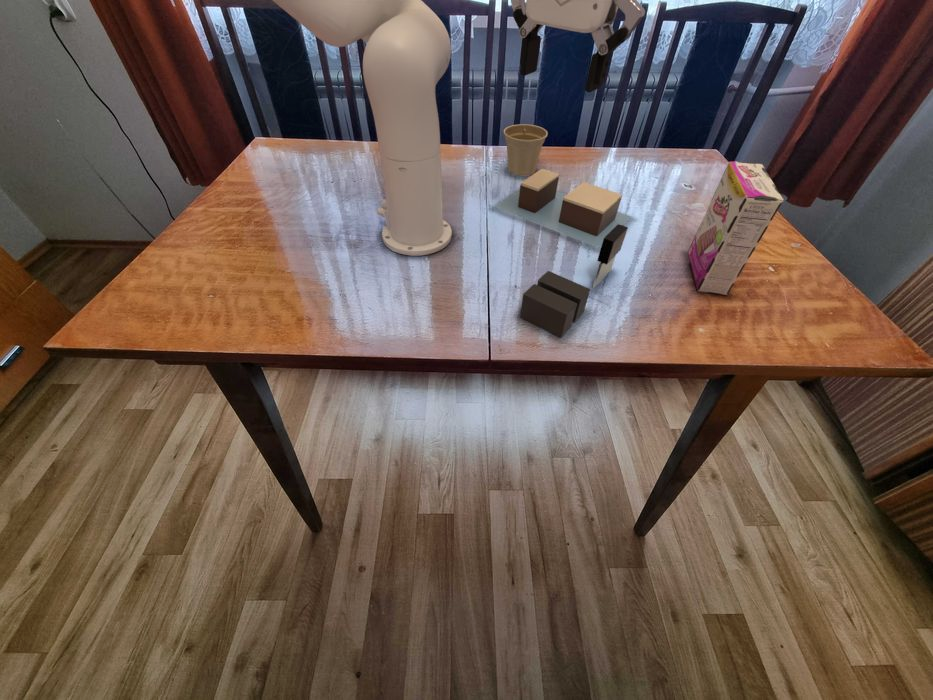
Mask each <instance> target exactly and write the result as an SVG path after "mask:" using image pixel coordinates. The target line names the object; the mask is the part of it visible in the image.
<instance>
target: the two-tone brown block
mask: <svg viewBox="0 0 933 700" xmlns="http://www.w3.org/2000/svg"><path fill="white" fill-rule="evenodd" d="M559 178H560V173H556V172H555V171H551V170H548V169H545V168H540V169H539V170H538V171H535V173H534V174H532V175H529V176H528V177H527V178H525V179H524V180H522V181H520V184H519V190H520V193H519V202H518V207H519V208H522V209H525V210H527V211H530V212H533V213H536V212H537V211H539V210H540V209H541V208H543V207H544V206H545V205H547V204H548V203H549V202H551V201H552V200H553V199H555V196H556V191H558V185H559Z"/></svg>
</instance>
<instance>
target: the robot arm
mask: <svg viewBox="0 0 933 700" xmlns="http://www.w3.org/2000/svg"><path fill="white" fill-rule="evenodd" d="M271 1H272V2H274V3H275V4H276V5H277V6H279V7H280V9H282V10H283V11H285V12H286V13H287V14H288V15H289V16H291V17H292V19H294V20H295V21H297V22H298V23H299V24H300V25H302V26H303V27H304V28H305V29H306V30H308V31H309V32H310V33H311V34H312V35H314V36H315V37H316V38H317V39H318V40H320V41H322V42H323V43H325V44H327V45H328V46H330V47H336V48H343V47H348V46H350V45H352V44H354V43H356V42H358V41H359V40H362V41H363V42H364V43H366V45H365V48H364V51H363V57H362V75H363V82H364V85H365V89H366V93H367V96H368V100H369V104H370V108H371V112H372V115H373V120H374V125H375V132H376V138H377V139H376V140H377V146H378V152H379V158H380V165H381V166H380V167H381V173H382V180H383V187H384V194H385V198H384V199H383V200H381V203H380V207H378V208H377V209H376V214H377V216H380V217H383V218H384V219H385V225H384V227H383V229H382V232H381V237H382V242H383V244H384V245H385V247H386V248H388V249H389V250H391V251H392V252H394V253H397V254H400V255H404V256H412V257H416V256H417V257H418V256H419V257H420V256H427V255H431V254H436V253H437V252H439V251H441V250H443V249H444V248H446V247H447V246H448V245H449V244H450V242H451V240H452V238H453V235H452V234H453V231H452V227H451V224H449V222H447V221H446V220H445V219H444V213H443V212H444V210H443V180H442V179H443V178H442V149H441V130H440V119H439V112H438V105H437V99H436V98H437V97H436V96H437V95H436V86H437V84H438V83H439V81H440V79H442V78H443V76H444V74H445V73H446V71H447V69H448V67H449V65H450V61H451V57H452V44H451V39H450V35H449V32H448V30H447V28H446V26H445V24H444V23H443V21H442V20H441V19H440V17H439V16H438V15H437V14H436V13H435V12H434V11H433V10H432V9H431V8H430V7H429V6H428V5H427V4H426V3H425V2H424V1H423V0H271ZM510 4H511V8H512V10H513V15H512V16H513V20H514V21H515V24H516V26H517V27H518V34H519V37H520V38H521V39H522V41H521V49H520V50H521V51H520V59H519V64H520V72H519V74H520V75H521V76H524V77H526V76H527V75H530V74H534V73H535V72H537V70H538V65H539V56H540V49H541V42H542V38H541V35H538V34H539V32H540V31H541V30H542V28H543V27H544V26H545V27H551V28H556V29H559V30H560V29H561V30H566V31H571V32H576V33H583V34H588V33H589V34H591V36H592V39H593V42H594V44H595V47H596V52H595V53H593V54H592V55H591V57H590V63H589V68H588V72H587V76H586V80H585V85H584V91H585V92H586V93H589V94H590V93H592V92H594V91H596V90H599V89H600V88H601V85H603V84H604V83H605V80H606V77H607V73H608V69H609V65H610V62H611V56H612V53H613V52H615V51H616V50H617V49H618V48H619V47H620V46H621V45H622V44H623V43H625V42H626V41H627V40H628V39H630V37H631V36H632V34H633V32H634V31H635V30H636V28H637V27H638V26H639V25H640V23H641V21H642V20H643V18H644V17H645V15H646V10H645V8H644V7H643V6H642V5H641V3H640V2H639V1H637V0H510ZM618 9H619V10H620V11H621V12H622V14H624V16H625V18H624V21H623V22H622V24H621V26H620V28H618V29H617V30H616V31H614V29H613V26H612V25H613V23H614V22H615V19H616V17H617V14H618V13H617V12H618Z"/></svg>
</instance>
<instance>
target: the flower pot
mask: <svg viewBox="0 0 933 700" xmlns="http://www.w3.org/2000/svg"><path fill="white" fill-rule="evenodd" d="M548 134H549V133H548V130H547V129H545V128H544V127H541V126H539V125H536V124H529V123H523V124H522V123H520V124H519V123H518V124H513V125H509V126H506V127H505V128H504V129H503V136H504V137H505V138H504V139H505V142H506V156H507V171H508V172H509V173H510V174H512V175H515V176H520V177H526V176H528V177H529V176H532V175H533V174H535V173H536V172H537V171H536V170H537V166H538V162H539V159H540V155H541V152H542V148H543V144H544V143H545V141H546V138H547V137H548Z"/></svg>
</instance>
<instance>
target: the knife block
mask: <svg viewBox="0 0 933 700" xmlns="http://www.w3.org/2000/svg"><path fill="white" fill-rule="evenodd" d="M590 292H591V288H589V287H587V286H585V285H582V284H580V283H578V282H575V281H573V280H571V279H568V278H566V277H564V276H561V275H559V274H557V273H555V272H552V271H550V270H547V271H546V272H545V273H544V274H542V276H540V278H539V279H537V283H533V284H532V285H531V286H530V287H529V288H528V289H527V290H526V291H525V292H524V293H523V294H522V301H521V307H520V313H519V318H521V319H523V320H525V321H526V322H529V323H531V324H533V325H534V326H537V327H538V328H541V329H542V330H544V331H546V332H548V333H551V334H552V335H554V336H556V337H558V338H560V339H562V338H563V336H564V335H565V334H567V332H568V331H569V330H570V328H572V326H573V325H572V324H573V323H574V324H575V323H576V322H577V321H578V320H579V319H580V317H581V316H582V315H583V314H584V312H585V310H586V306H587V302H588V299H589V295H590Z"/></svg>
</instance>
